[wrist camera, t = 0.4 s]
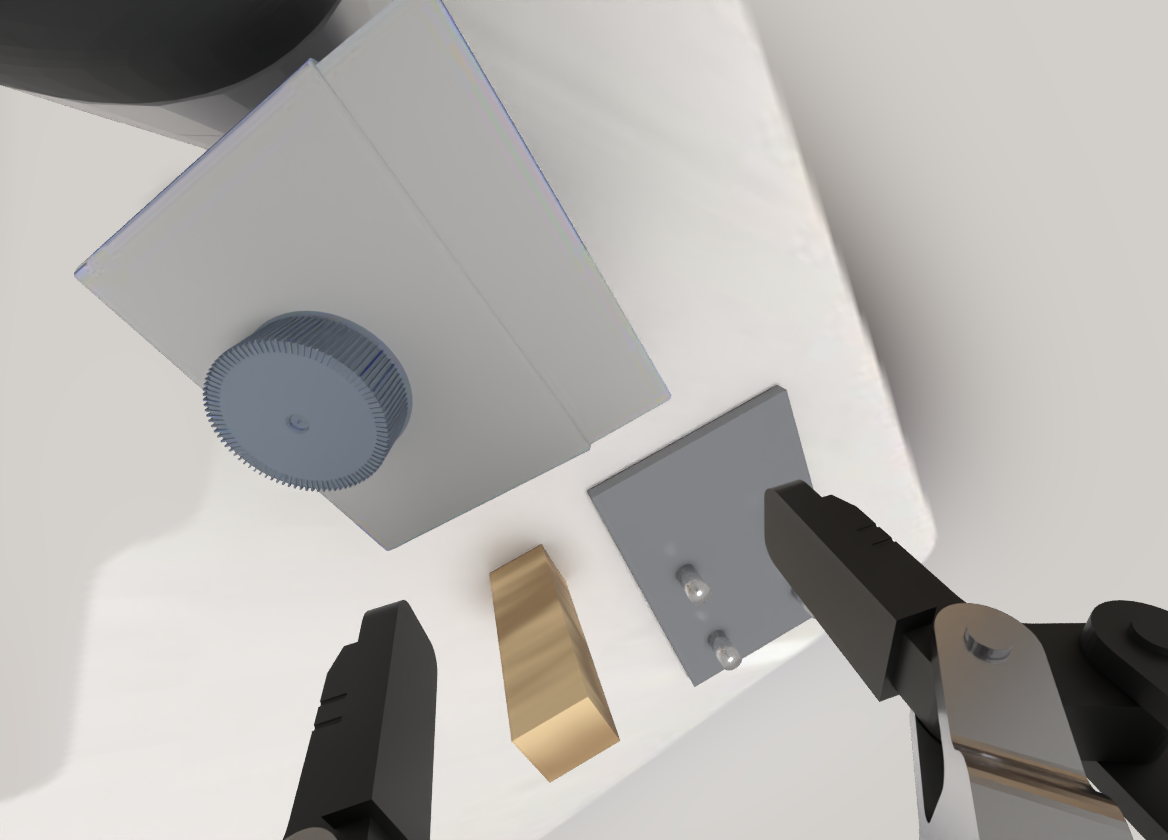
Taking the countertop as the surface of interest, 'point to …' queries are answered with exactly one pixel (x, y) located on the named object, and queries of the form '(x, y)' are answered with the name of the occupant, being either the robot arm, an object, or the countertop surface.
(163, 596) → the countertop surface
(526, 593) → the oak block
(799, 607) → the plate
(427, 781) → the robot arm
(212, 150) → the milk carton
